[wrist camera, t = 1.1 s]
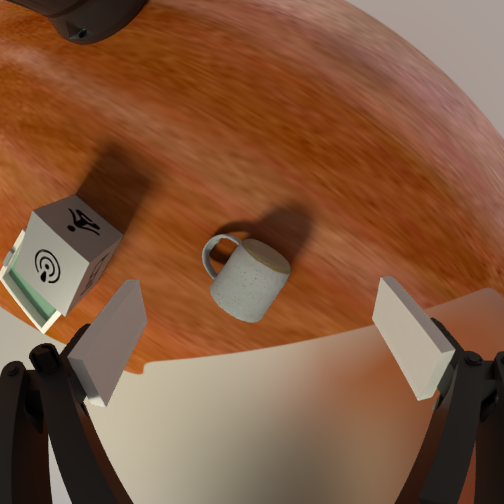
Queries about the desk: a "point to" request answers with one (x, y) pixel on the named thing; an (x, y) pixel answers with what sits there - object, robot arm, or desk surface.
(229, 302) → the ceramic mug
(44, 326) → the green and white tray
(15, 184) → the desk surface
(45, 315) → the shallow square tray
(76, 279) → the icon cube
